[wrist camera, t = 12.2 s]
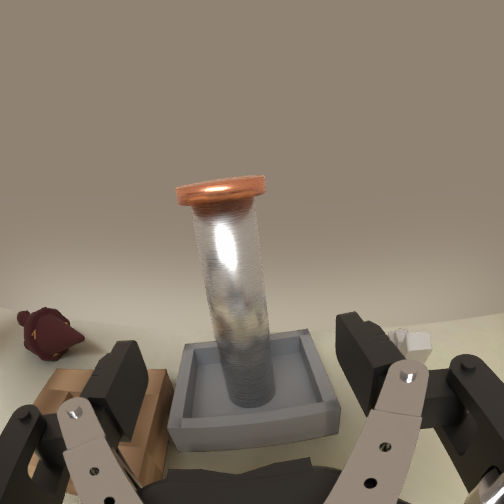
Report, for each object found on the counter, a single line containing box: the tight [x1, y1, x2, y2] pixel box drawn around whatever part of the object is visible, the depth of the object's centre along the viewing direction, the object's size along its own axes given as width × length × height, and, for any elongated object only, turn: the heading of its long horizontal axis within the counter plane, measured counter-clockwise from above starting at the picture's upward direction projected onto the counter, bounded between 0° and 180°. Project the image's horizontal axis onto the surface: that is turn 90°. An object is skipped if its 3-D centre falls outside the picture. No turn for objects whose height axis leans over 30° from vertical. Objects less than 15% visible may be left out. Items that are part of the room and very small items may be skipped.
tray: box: [167, 329, 341, 452], centre depth 23 cm, size 12×11×3 cm
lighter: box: [388, 328, 432, 364], centre depth 20 cm, size 7×2×8 cm, turn 166°
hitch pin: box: [175, 175, 276, 408], centre depth 21 cm, size 6×6×17 cm
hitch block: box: [28, 369, 174, 495], centre depth 18 cm, size 12×12×4 cm
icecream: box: [17, 307, 85, 361], centre depth 31 cm, size 7×7×15 cm
